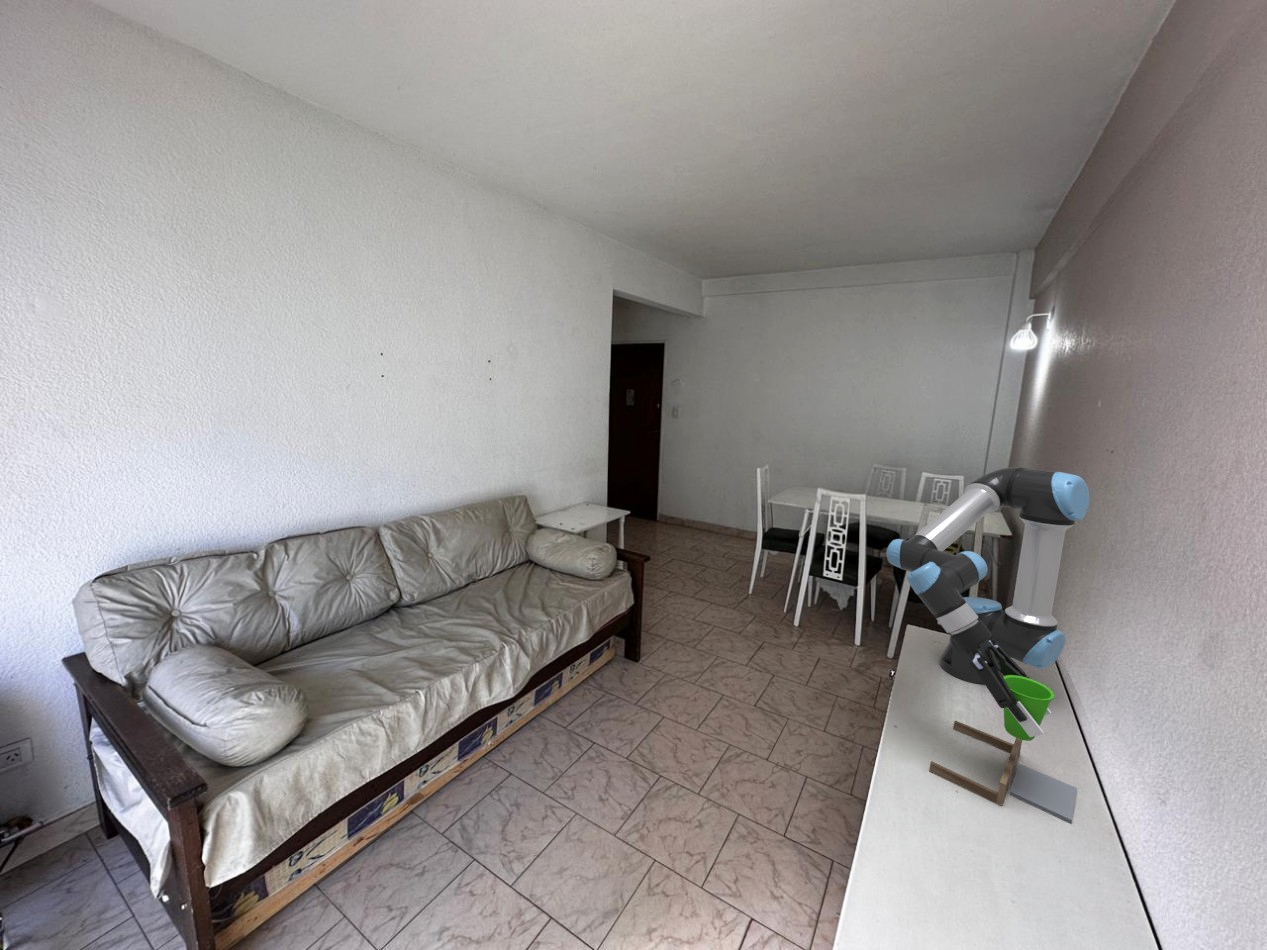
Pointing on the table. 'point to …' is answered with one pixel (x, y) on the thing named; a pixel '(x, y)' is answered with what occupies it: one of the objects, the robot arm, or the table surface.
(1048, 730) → the table surface
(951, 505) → the robot arm
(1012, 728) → the cup
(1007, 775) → the stall
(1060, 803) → the mat
